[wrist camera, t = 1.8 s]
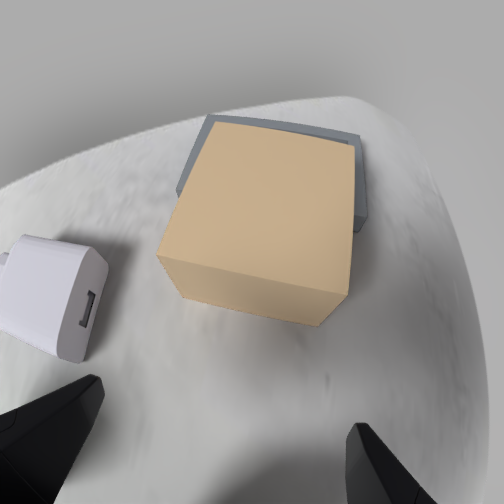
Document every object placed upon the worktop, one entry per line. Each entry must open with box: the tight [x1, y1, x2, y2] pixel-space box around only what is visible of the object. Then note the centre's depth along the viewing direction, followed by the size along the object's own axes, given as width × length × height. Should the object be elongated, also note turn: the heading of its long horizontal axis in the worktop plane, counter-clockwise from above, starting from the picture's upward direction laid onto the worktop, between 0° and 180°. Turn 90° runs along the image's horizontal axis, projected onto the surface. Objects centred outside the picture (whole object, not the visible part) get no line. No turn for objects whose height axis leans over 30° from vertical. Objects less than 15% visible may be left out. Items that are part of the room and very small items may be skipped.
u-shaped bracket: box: [176, 114, 367, 232], centre depth 28 cm, size 11×17×2 cm, turn 81°
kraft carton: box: [156, 121, 355, 327], centre depth 22 cm, size 12×11×8 cm
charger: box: [0, 234, 109, 364], centre depth 21 cm, size 5×9×15 cm
